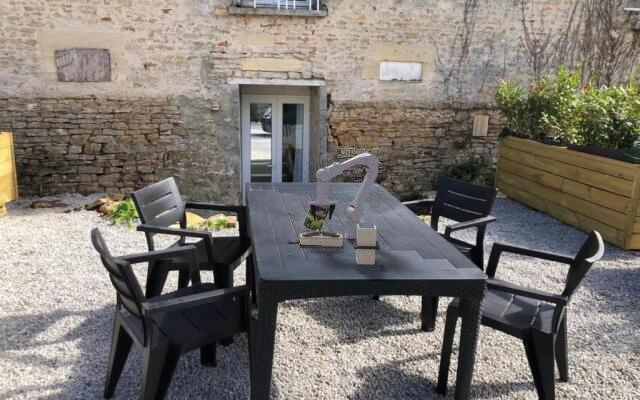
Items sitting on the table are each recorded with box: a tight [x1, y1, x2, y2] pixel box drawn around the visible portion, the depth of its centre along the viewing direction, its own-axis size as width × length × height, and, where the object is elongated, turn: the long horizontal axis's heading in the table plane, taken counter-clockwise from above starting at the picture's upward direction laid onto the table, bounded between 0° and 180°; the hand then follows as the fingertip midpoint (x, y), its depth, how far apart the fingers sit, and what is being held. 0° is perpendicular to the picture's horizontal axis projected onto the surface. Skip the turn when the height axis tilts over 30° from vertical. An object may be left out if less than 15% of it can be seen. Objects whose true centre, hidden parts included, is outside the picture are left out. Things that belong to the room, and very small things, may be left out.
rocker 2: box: [322, 228, 340, 237], centre depth 230 cm, size 8×4×2 cm, turn 90°
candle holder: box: [351, 224, 381, 265], centre depth 205 cm, size 25×24×16 cm
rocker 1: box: [303, 229, 321, 237], centre depth 230 cm, size 8×4×2 cm, turn 90°
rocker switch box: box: [287, 232, 343, 248], centre depth 231 cm, size 27×9×4 cm, turn 90°
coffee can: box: [301, 206, 329, 233], centre depth 249 cm, size 10×10×14 cm
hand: (322, 219), depth 236 cm, fingers open, 7 cm apart
